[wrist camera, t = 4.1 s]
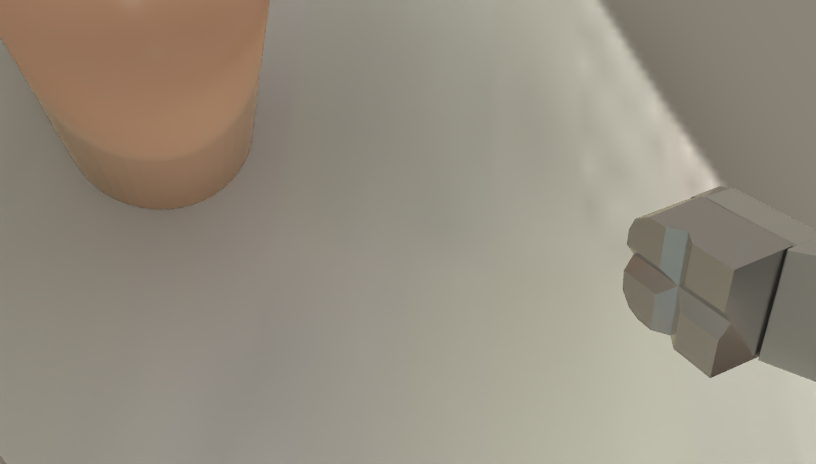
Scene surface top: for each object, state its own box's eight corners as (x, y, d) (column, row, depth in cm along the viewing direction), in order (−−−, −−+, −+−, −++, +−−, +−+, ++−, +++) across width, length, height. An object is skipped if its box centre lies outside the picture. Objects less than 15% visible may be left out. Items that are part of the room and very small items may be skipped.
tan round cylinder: (98, 233, 17) (-16, 73, 9) (39, 66, 18) (-119, -233, 10) (277, 178, 19) (325, -3, 10) (218, 25, 20) (217, -262, 11)
